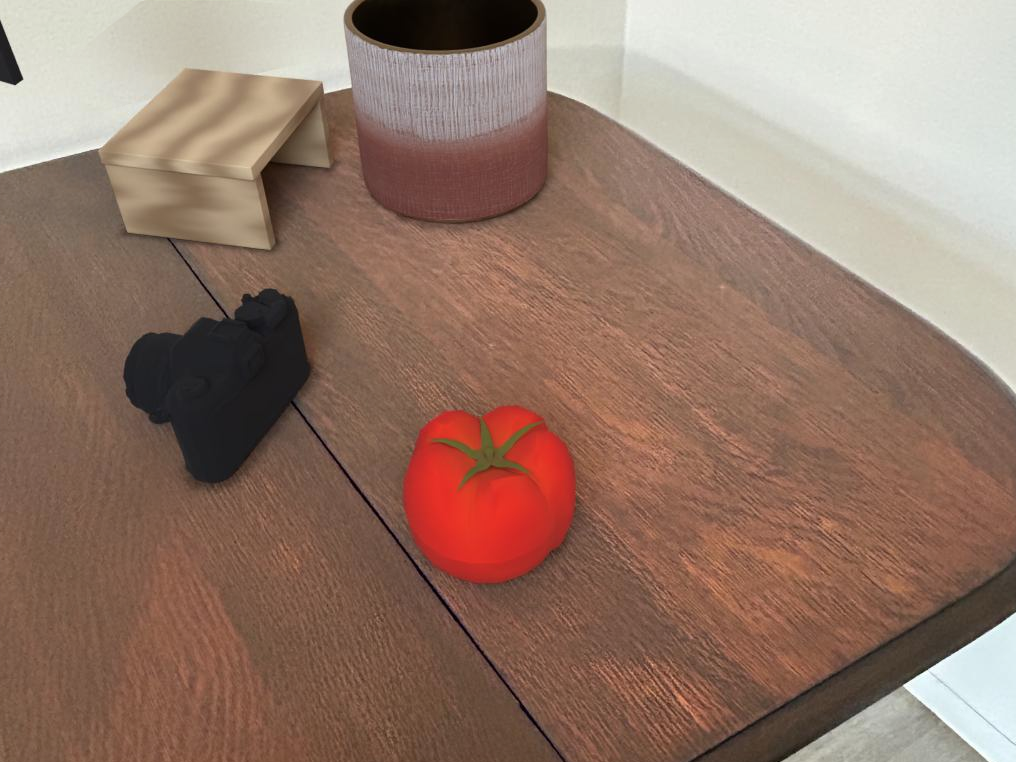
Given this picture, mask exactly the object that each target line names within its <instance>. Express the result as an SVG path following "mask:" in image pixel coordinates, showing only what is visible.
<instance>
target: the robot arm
mask: <svg viewBox="0 0 1016 762" xmlns="http://www.w3.org/2000/svg"><path fill="white" fill-rule="evenodd" d="M14 53H15V52H14V51H13V49H12V46H11V43H10V41H9V38H8V35H7V33H6V31H5V28H4V26H3V23H2V20H1V19H0V82H2V83H5V84H8V85H12V86H17V85H18V84H20V83H21V82H22V81H24V79H25V78H24V77H23V74H22V72H21V69H20V66H19V64H18V61H17V59H16V57H15V54H14Z"/></svg>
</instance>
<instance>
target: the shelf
mask: <svg viewBox="0 0 1016 762" xmlns="http://www.w3.org/2000/svg"><path fill="white" fill-rule="evenodd" d="M323 83H324V82H323V80H312V79H303V78H294V77H281V76H271V75H260V74H251V73H243V72H242V73H241V72H240V73H239V72H232V71H231V72H229V71H222V70H221V71H219V70H209V69H199V68H189V67H185V68H184V69H183V70H182V71H181V72H179V74H177V75H176V76H175V77H174V78H173V79H172V80H170V82H168V84H167V85H166V86H165V87H163V89H162V90H161V91H160V92H158V93H157V94H156V95H155V96H154V97H153V98H152V99H151V100H150V101H148V103H147V104H146V105H144V106H143V108H141V109H140V110H139V111H138V112H137V113H136V114H135V115H134V116H133V117H132V118H131V119H130V120H129V121H127V123H126V124H125V125H123V127H121V128H120V130H118V131H117V132H116V133H115V134H114V135H113V136H112V137H110V139H109V140H107V142H105V144H104V145H103V146H101V147H100V148H99V149H98V151H97V152H98V155H99V160H100V161H101V164H102V165H104V167H105V171H106V173H107V177H108V179H109V182H110V185H111V188H112V191H113V194H114V197H115V200H116V203H117V206H118V209H119V211H120V214H121V217H122V222H123V224H124V227H125V229H126V232H127V233H128V234H135V235H144V236H145V235H146V236H151V237H160V238H169V239H177V240H184V241H185V240H186V241H193V242H202V243H209V244H218V245H224V246H225V245H226V246H234V247H242V248H250V249H259V250H268V251H272V249H273V248H274V247H275V245H276V239H275V238H276V237H275V233H274V229H273V224H272V220H271V216H270V211H269V205H268V203H267V202H268V201H267V197H266V191H265V187H264V183H263V178H262V174H261V172H262V171H263V170H264V168H265V167H266V166H267V165H268V164H269V162H272V163H279V164H280V163H281V164H287V165H288V164H289V165H296V166H297V165H299V166H306V167H307V166H308V167H316V168H325V169H331V167H332V166H333V164H334V163H335V161H334V154H333V148H332V142H331V135H330V129H329V122H328V116H327V110H326V109H327V108H326V104H325V103H326V102H325V99H324V95H325V90H324V84H323Z"/></svg>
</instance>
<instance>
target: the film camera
mask: <svg viewBox="0 0 1016 762" xmlns="http://www.w3.org/2000/svg"><path fill="white" fill-rule="evenodd" d="M240 302H241V305H240V306H238V307H237V308H236V309H235V310H234V312H233V315H234V318H228V317H222V319H221V320H216V319H214V318H211V317H206V316H200V317H199V318H198V319H197V320H196V321H195V322H194V323H193V324H192V325H191V326H190V327H189V329H188V330H186V331H185V332H184V334H179V333H173V332H166V331H165V332H160V333H158V332H157V333H156V332H153V331H150V332H147V333H144V334H143V335H142V336H141V337H140V338H138V339H136V341H135V342H134V343H133V344H132V346H131V348H130V350H129V353H128V355H126V358H125V362H124V366H123V372H122V373H123V374H122V379H123V381H124V385H125V390H124V391H125V395H126V397H127V398H128V399H129V402H130V404H131V405H132V406H134V408H136V409H139V410H141V411H143V412H144V413H146V414H147V415H148V420H149V421H150V422H151V423H153V424H155V425H163V424H166V423H170V424H171V427H172V430H173V433H174V435H175V438H176V440H177V443H178V446H179V449H180V451H181V453H182V456H183V459H184V463H185V468H186V470H187V472H188V473H189V474H190V475H191V476H192V477H193V479H194V480H196V481H198V482H202V483H207V484H216V483H219V482H222V481H225V480H228V479H229V478H230V477H231V476H232V475H233V474H234V473H235V472H236V471H237V470H238V469H239V467H240V466H241V465H242V464H243V462H244V461H246V459H248V457H249V456H250V454H251V453H252V452H253V450H255V448H256V446H258V444H259V443H260V442H261V440H263V438H264V437H265V436H266V434H267V433H268V431H269V430H270V429H271V428H272V427H273V426H274V424H275V423H276V422H277V420H279V418H280V416H281V415H282V414H283V413H284V411H285V410H286V409H287V407H289V405H290V403H291V402H292V401H293V400H294V398H295V397H296V395H297V394H298V392H299V391H300V390H301V388H302V387H303V385H304V384H305V382H306V381H307V380H308V378H309V375H310V370H311V365H310V362H309V360H308V354H307V349H306V345H305V339H304V334H303V329H302V326H301V320H300V314H299V309H298V307H297V305H296V302H295V300H294V299H293V297H292V296H290V295H286V294H284V293H280V292H279V290H278V289H276V288H263V289H262V290H261V291H259V292H258V294H257V295H255V296H252V295H251V294H250V293H249V292H248V293H243V294H242V298H241V299H240Z"/></svg>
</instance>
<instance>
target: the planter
mask: <svg viewBox="0 0 1016 762" xmlns="http://www.w3.org/2000/svg"><path fill="white" fill-rule="evenodd" d="M547 17H548V16H547V9H546V6H545V4H544V3H543V1H542V0H353V1H351V2H350V3H349V5H348V6H347V7H346V9H345V11H344V13H343V17H342V21H343V31H344V37H345V44H346V53H347V59H348V69H349V76H350V84H351V90H352V92H351V93H352V99H353V108H354V109H353V110H354V117H355V124H356V133H357V143H358V148H359V149H358V150H359V158H360V164H361V171H362V177H363V181H364V184H365V187H366V189H367V191H368V193H369V194H370V195H371V196H372V197H373V198H374V199H375V200H376V201H377V202H378V203H379V204H381V205H383V206H384V207H386V208H388V209H389V210H392V211H393V212H396V213H397V214H400V215H402V216H406V217H409V218H413V219H416V220H421V221H426V222H436V223H450V224H451V223H467V222H475V221H482V220H487V219H491V218H494V217H497V216H500V215H504V214H507V213H509V212H512V211H513V210H516V209H517V208H520V207H521V206H522V205H525V203H527V202H529V201H530V200H531V199H532V198H533V197H534V196H536V195H537V194H538V193H539V192H540V191H541V189H542V188H543V186H544V184H545V182H546V180H547V179H546V178H547V174H548V164H549V163H548V161H549V160H548V159H549V138H548V137H549V133H548V132H549V129H548V128H549V127H548V124H549V123H548V62H547V61H548V48H547V47H548V45H547V43H548V41H547V40H548V34H547V33H548V31H547V30H548V28H547V27H548V26H547V25H548V24H547V23H548V22H547V20H548V19H547Z"/></svg>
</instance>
